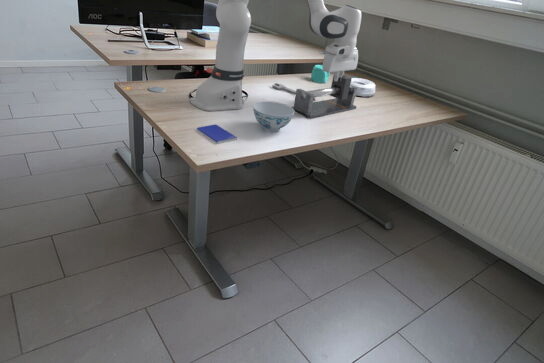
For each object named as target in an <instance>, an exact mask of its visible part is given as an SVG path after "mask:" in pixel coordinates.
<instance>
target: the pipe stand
mask: <svg viewBox="0 0 544 363" xmlns="http://www.w3.org/2000/svg"><path fill="white" fill-rule="evenodd" d="M295 91H296V95H294V96H295V97H294V103H293V105H292V106H290V107H291V108H293V109H294V113H297V114H298V115H301V116H302V117H304V118H307V119H309V120H312V119H317V118H321V117H326V116H330V115H334V114H339V113H343V112H349V111H353V110H356V109H357V105H354V102H355V98H356V91H357V87H355V86H353V85H350V88H349V92H348V96H347V99H344V100H340V99H338V98H335V97H334V98H330V99H324V100H319V101H313V98H319V97H325V96H330V95H331V94H337V93H338V94H340V92H341V87H340V86H337V87H331V86H330V87H325V88H319V89H318V88H317V89H313V90H304V89H302V88H296V89H295Z"/></svg>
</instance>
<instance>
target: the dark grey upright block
mask: <svg viewBox="0 0 544 363" xmlns="http://www.w3.org/2000/svg"><path fill="white" fill-rule="evenodd" d="M352 78H353V77H350V76H347V75H345V74H343V76H342V78H341V81H337V82H336V81H334V75H333V77H332V82H331V86H330V88H331V87H337V86H340V87H341V92H340V94H338V93H337V94H331V95H329V96H330V97H333V98H334V99H335V98H338V99H340V100H344V99H347V96H348V92H349V88H350V84H351V79H352Z"/></svg>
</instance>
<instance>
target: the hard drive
mask: <svg viewBox="0 0 544 363" xmlns="http://www.w3.org/2000/svg"><path fill="white" fill-rule="evenodd" d="M196 131H197V132H198V133H200V134H202V135H203V136H205V137H206V138H207V139H209V140H211V141H212V142H213V143H215V144H216V145H219V144H220V145H221V144H225V143H229V142H233V141H238V136H236V135H234V134H233V133H231V132H229V131H227V130H226V129H225V128H223V127H221V126H220V125H219V124H210V125H206V126H205V125H204V126H199V127H197V128H196Z"/></svg>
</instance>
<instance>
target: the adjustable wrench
mask: <svg viewBox="0 0 544 363" xmlns="http://www.w3.org/2000/svg"><path fill="white" fill-rule="evenodd" d="M272 89H274V90H277V91H283V92H286V93H290V94H293V95H294V96H296V89H292V88H289V87H287V86H286V85H284V84H282V83H278V82H275V83H274V84H272ZM316 98H317V97H314V98H313V102H316Z"/></svg>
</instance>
